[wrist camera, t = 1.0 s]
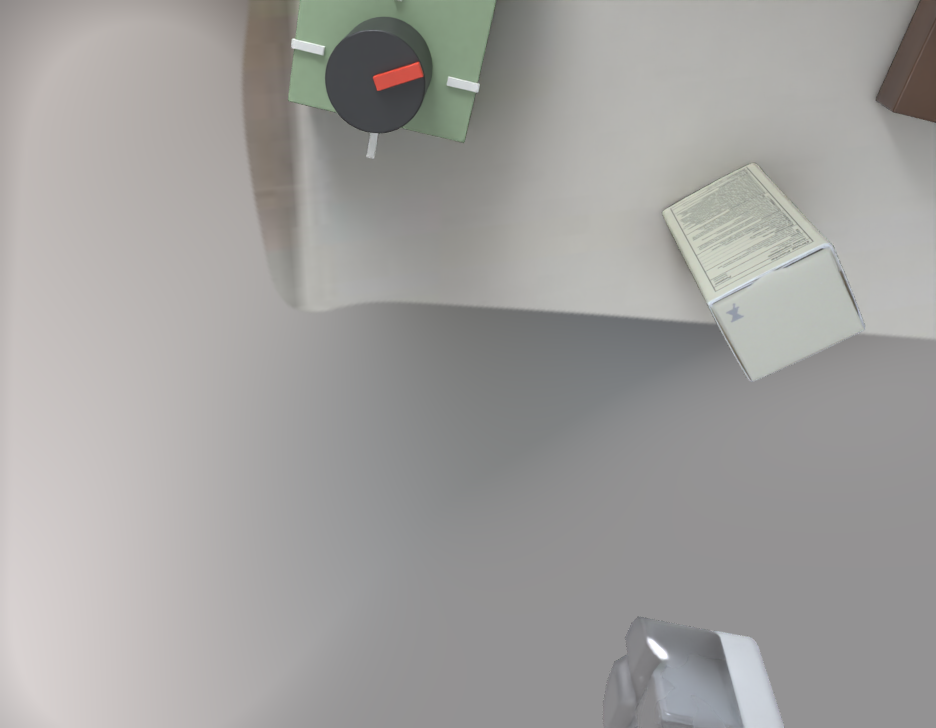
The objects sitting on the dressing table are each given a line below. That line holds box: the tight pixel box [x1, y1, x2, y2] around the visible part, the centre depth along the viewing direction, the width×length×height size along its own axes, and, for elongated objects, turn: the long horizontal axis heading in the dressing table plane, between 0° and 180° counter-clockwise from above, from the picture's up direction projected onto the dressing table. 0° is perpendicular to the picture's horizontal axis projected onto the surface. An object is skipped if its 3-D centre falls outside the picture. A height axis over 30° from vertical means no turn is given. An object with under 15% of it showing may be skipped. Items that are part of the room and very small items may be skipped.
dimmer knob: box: [325, 17, 432, 133], centre depth 36 cm, size 4×4×4 cm
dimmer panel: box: [288, 0, 497, 159], centre depth 38 cm, size 13×8×3 cm, turn 167°
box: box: [662, 163, 865, 382], centre depth 39 cm, size 5×4×11 cm
